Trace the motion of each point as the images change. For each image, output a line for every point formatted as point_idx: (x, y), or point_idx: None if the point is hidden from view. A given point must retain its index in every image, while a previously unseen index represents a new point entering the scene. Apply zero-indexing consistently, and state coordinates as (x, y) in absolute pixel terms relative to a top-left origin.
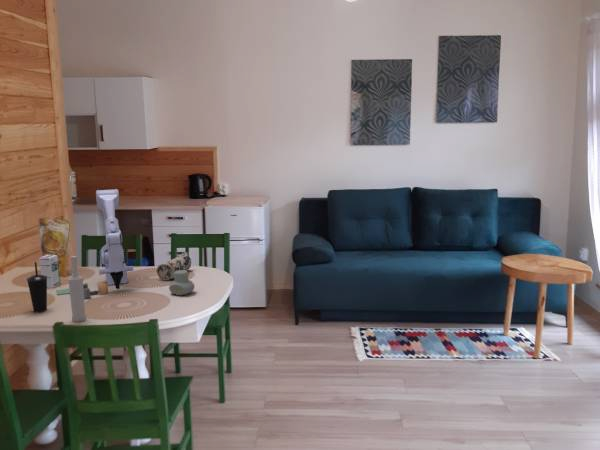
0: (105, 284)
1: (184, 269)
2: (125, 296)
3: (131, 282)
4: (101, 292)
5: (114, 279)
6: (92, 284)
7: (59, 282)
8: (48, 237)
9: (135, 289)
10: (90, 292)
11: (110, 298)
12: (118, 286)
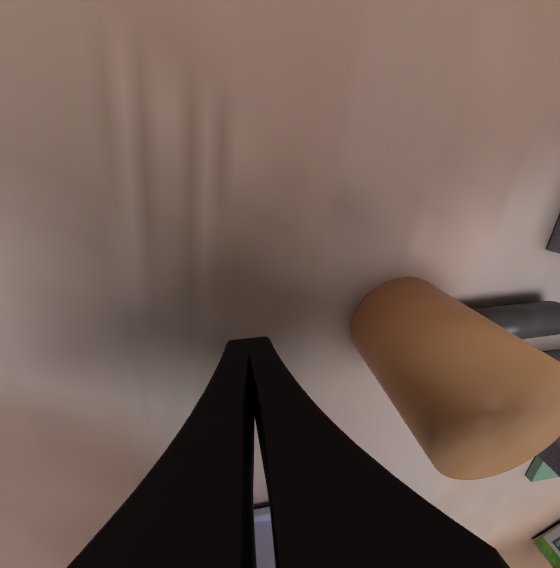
0: (470, 360)
1: None
2: (142, 12)
3: None
4: (443, 292)
5: (338, 457)
6: None
7: (556, 554)
8: None
9: (20, 338)
10: (546, 313)
11: (389, 32)
12: (238, 352)
